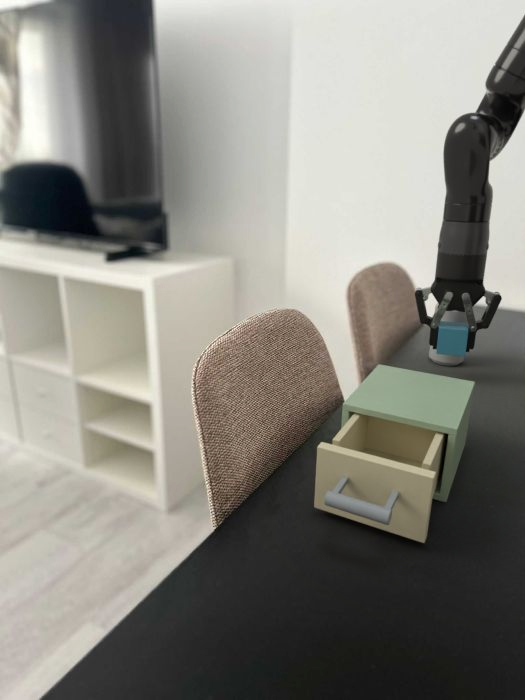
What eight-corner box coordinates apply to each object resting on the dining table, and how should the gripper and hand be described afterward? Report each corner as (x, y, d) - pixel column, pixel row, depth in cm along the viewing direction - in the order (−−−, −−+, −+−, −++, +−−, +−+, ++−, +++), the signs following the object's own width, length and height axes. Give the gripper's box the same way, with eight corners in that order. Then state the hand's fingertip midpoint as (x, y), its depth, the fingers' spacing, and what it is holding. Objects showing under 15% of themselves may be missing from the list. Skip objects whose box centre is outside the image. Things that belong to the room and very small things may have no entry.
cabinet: (446, 502, 56) (457, 429, 53) (337, 471, 62) (342, 403, 59) (465, 444, 69) (475, 381, 66) (373, 422, 74) (378, 364, 71)
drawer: (413, 574, 45) (423, 504, 43) (295, 532, 50) (298, 468, 48) (448, 474, 60) (457, 418, 58) (355, 449, 65) (359, 397, 63)
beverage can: (432, 353, 103) (440, 294, 99) (466, 359, 100) (475, 299, 96) (424, 362, 98) (432, 301, 94) (459, 369, 94) (469, 306, 90)
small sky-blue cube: (464, 348, 90) (467, 323, 88) (465, 356, 86) (468, 330, 84) (436, 345, 91) (439, 320, 90) (436, 353, 87) (439, 327, 85)
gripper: (508, 248, 84) (493, 346, 89) (417, 245, 88) (408, 339, 94) (513, 254, 77) (497, 360, 83) (415, 250, 81) (406, 352, 87)
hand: (450, 348), depth 88 cm, fingers closed on small sky-blue cube, 4 cm apart
